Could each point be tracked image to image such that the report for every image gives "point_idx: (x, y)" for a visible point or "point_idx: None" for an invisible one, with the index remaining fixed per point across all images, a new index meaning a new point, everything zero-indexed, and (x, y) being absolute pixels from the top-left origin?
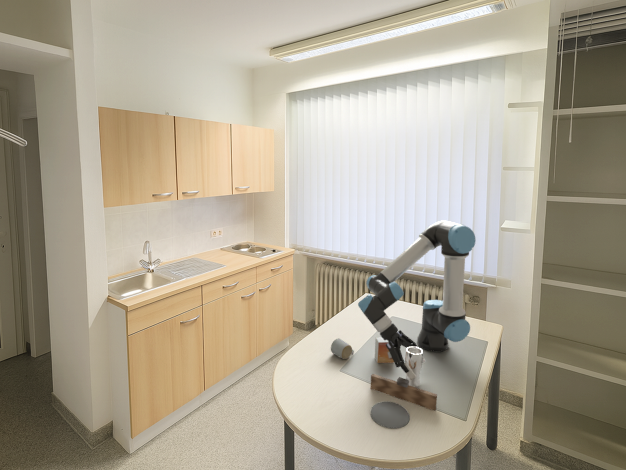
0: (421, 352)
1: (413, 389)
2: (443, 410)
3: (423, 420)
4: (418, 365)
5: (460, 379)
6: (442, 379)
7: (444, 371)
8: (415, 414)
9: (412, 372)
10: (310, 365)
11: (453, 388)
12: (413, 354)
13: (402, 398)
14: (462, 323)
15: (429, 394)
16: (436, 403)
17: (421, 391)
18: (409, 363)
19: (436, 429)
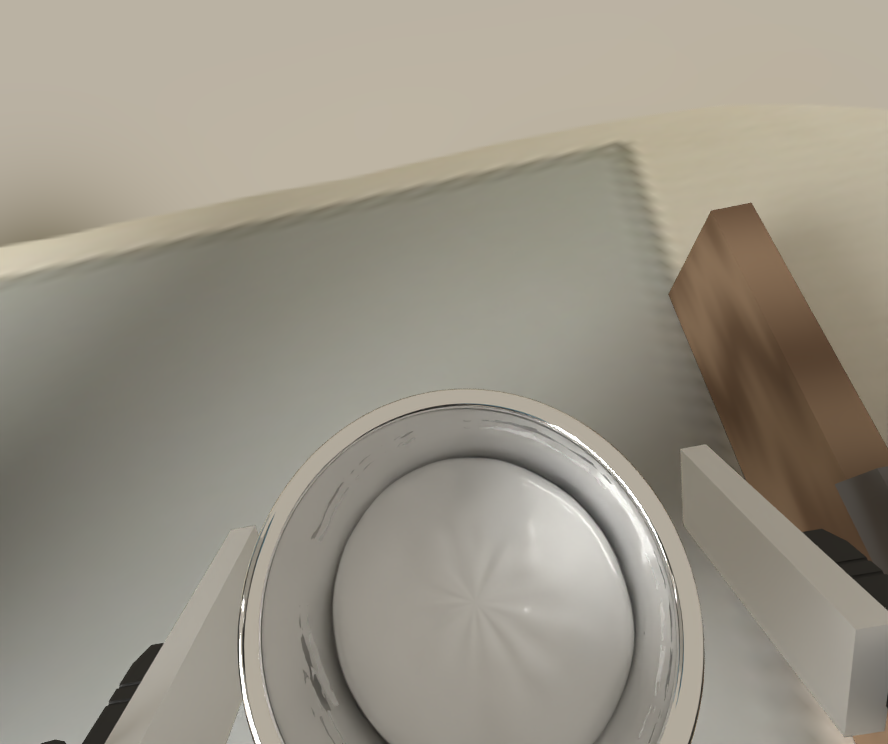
0: (333, 480)
1: (859, 398)
2: (642, 256)
3: (872, 297)
4: (549, 472)
5: (194, 321)
6: (266, 416)
7: (134, 454)
8: (873, 366)
9: (746, 482)
10: None
11: (340, 310)
12: (671, 521)
13: None
14: None
15: (778, 251)
16: (684, 266)
17: (808, 322)
18: (638, 617)
19: (864, 208)
